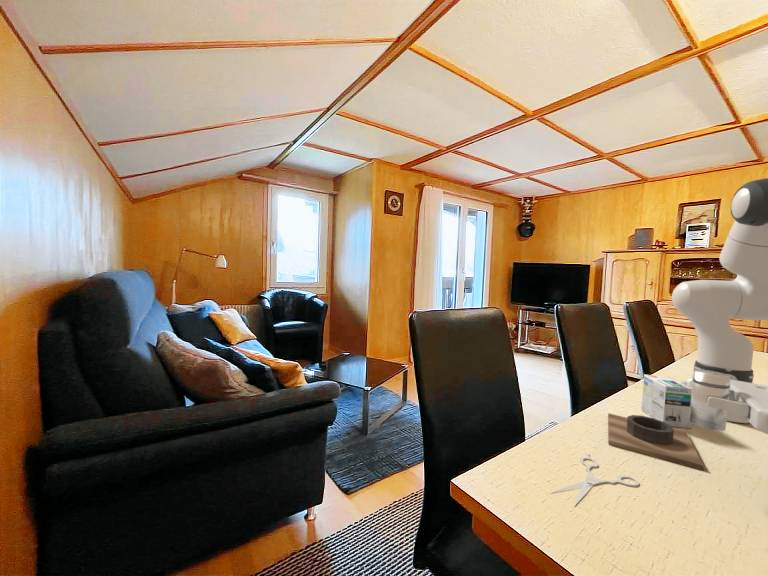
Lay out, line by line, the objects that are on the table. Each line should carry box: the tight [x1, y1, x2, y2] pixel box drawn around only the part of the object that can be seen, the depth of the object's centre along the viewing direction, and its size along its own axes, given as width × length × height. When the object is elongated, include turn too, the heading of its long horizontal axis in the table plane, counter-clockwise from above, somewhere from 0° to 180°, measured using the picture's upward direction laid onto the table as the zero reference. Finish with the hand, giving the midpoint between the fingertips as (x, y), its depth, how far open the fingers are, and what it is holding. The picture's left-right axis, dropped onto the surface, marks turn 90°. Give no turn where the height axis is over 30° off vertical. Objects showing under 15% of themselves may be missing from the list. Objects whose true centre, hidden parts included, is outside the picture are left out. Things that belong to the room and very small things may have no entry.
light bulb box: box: [640, 374, 693, 429], centre depth 91 cm, size 11×7×11 cm, turn 168°
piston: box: [689, 369, 731, 432], centre depth 63 cm, size 5×5×10 cm
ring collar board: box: [607, 412, 704, 471], centre depth 79 cm, size 18×16×4 cm
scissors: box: [551, 452, 640, 507], centre depth 62 cm, size 11×1×20 cm
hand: (703, 395), depth 63 cm, fingers closed on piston, 5 cm apart
